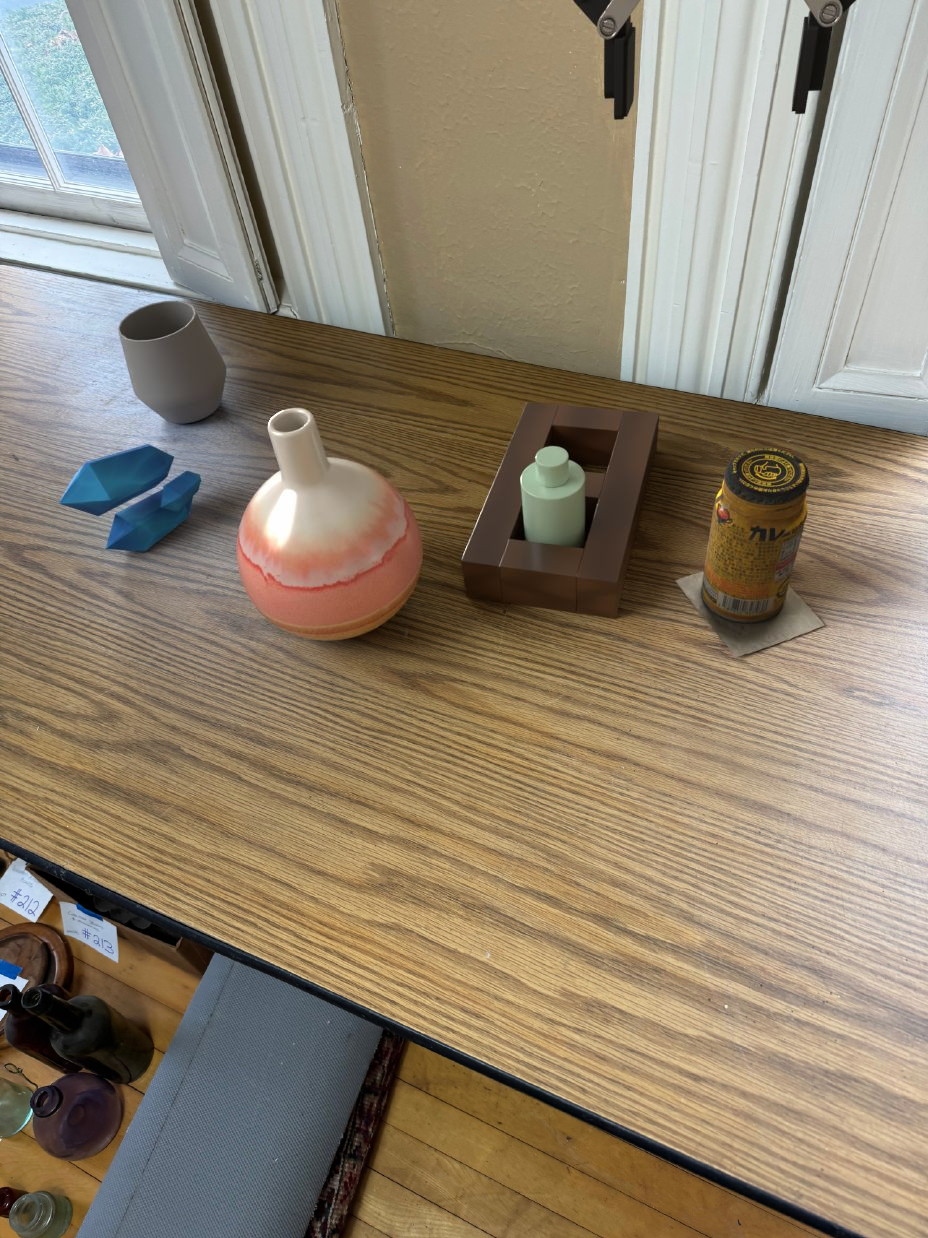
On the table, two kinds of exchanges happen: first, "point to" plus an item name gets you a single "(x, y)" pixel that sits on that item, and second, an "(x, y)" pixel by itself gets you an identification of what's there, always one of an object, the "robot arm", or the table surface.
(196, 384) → the cup
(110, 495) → the blue crystals
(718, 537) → the condiment
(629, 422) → the peg block
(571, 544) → the bottle
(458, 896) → the table surface
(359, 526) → the vase
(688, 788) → the table surface
